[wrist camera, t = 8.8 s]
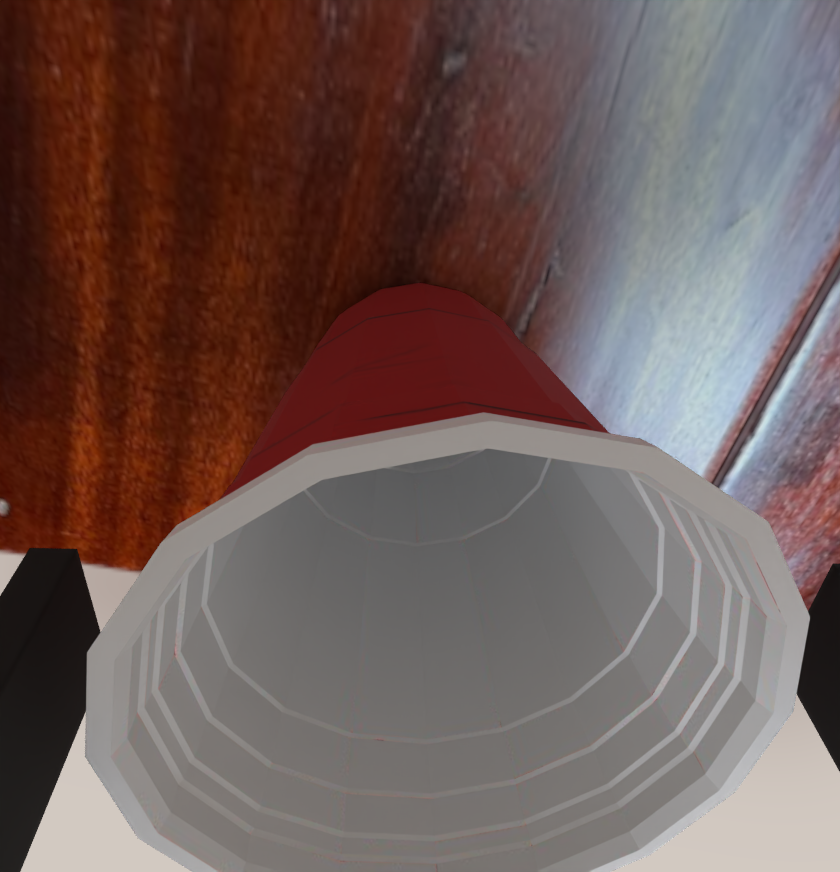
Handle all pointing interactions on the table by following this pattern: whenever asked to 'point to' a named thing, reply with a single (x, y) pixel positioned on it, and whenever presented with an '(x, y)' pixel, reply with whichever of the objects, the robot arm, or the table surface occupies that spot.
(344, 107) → the table surface
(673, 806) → the plastic cup
